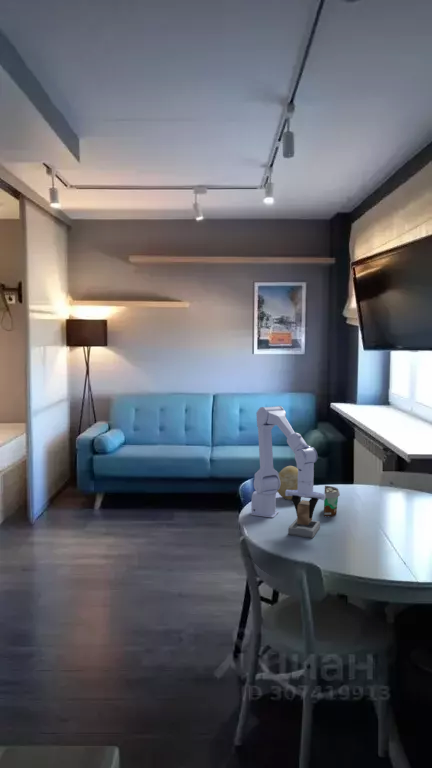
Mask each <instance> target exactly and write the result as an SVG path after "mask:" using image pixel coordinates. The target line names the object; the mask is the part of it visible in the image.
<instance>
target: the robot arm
mask: <svg viewBox="0 0 432 768" xmlns="http://www.w3.org/2000/svg"><path fill="white" fill-rule="evenodd" d="M275 426H277V427H278V428H279V430H280V431H281V432H282V433H283V434H284V436H285V437H286V438H287V439H286V443H287V445H288V446H289V447H290V449H291V450H292V452H293V453H294V460H295V462H296V468H297V469H298V490H286V491H285V496H292V500H291V501H292V504H293V505H294V509H295V513H296V514H297V509H298V504H299V503H300V502H301V501H302V498H304V499H305V498H306V499H309V500H308V501H309V505H310V513H309V518H312V519H313V516H314V515H313V514H314V511H315V508H316V506H317V504H318V502H319V500H321V501H324V500H325V494H324V493H323V492H322V493H321V492H316V491H314V478H315V477H314V476H315V475H314V474H315V473H314V472H315V470H314V468H315V465H314V463H317V460H318V452H317V450H316V449H315V447H312V446H310V445H308V444H307V442H306V440H305V439H304V438H303V436H302V435H301V433H298V432H295V431H294V429H293V428H292V427H293V426H292V425H291V424H290V422H289V421H288V419H287V412H286V410H285V409H284V407H282V406H281V405H275V406H261V407H259V408H258V410H257V411H256V427H257V435H258V453H259V469H258V470H257V472H255V473H254V480H253V488H254V490H255V491H253V492H252V495H251V504H250V505H251V509H250V510H251V511H250V515H251V516H257V517H265V518H272V519H273V518H275V517H276V516H277V515H278V514H279V511H278V510H276V500H277V497H276V496H277V493H278V491H277V490H279V488H280V485H281V483H280V479H279V472H278V471H277V470H276V469H275V468H274V455H273V439H272V436H273V435H272V430H273V428H274V427H275Z"/></svg>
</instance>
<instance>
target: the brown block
mask: <svg viewBox="0 0 432 768" xmlns="http://www.w3.org/2000/svg"><path fill="white" fill-rule="evenodd" d="M309 513H310V505H309V500H304V499H301V502H300V503H299V504H298V509H297V513H296V516H297V517H296V519H297V524H303V525H308V524H309V523H310V522H311V521H313V517H312V518H309Z"/></svg>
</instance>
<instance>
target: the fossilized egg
mask: <svg viewBox="0 0 432 768" xmlns="http://www.w3.org/2000/svg"><path fill="white" fill-rule="evenodd" d="M278 474H279V479H280V483H281V485H280V488H279V490H277V493H278V495H280V497H282V499H285V500H288V501H292V496H285V491H286V490H298V468H297V466H293V465H288V466H285V467H283V468H282V469H281V470H280V471H279V472H278Z"/></svg>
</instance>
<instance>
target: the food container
mask: <svg viewBox="0 0 432 768" xmlns="http://www.w3.org/2000/svg"><path fill="white" fill-rule="evenodd" d="M323 494H325V500H323V517H325V516H326V517H328V516H329V517H335V516H336V515H337V511H338V502H339V497H340V495H341V494H340V490H339V489H338V487H335V486H331V485H324V492H323ZM329 517H328V518H329Z"/></svg>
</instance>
